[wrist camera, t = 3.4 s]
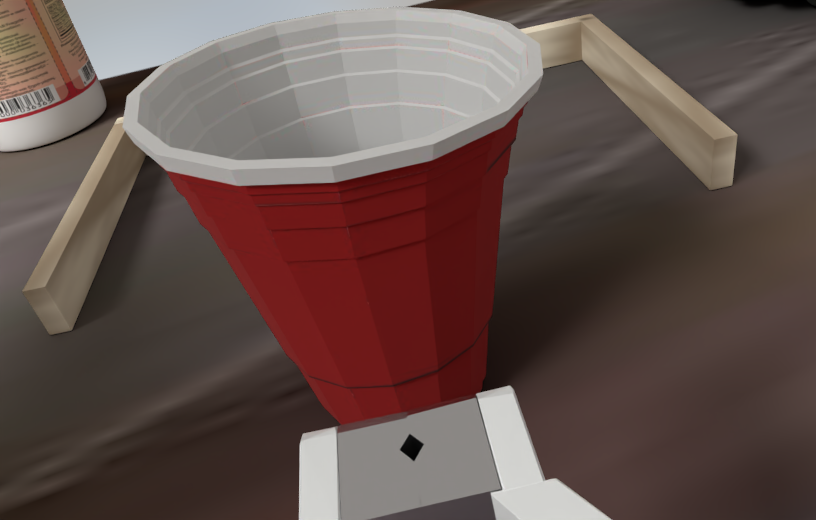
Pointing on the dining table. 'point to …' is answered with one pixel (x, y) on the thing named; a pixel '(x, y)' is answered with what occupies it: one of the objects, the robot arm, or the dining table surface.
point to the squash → (812, 2)
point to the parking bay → (560, 43)
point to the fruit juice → (43, 76)
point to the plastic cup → (353, 187)
